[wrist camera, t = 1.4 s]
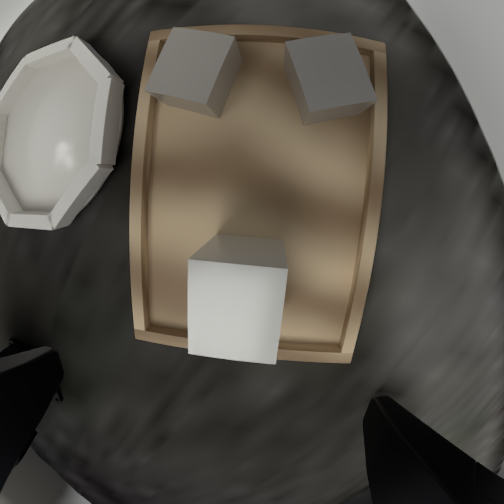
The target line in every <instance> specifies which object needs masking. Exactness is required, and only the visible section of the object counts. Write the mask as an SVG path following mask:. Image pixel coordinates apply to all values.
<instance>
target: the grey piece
mask: <svg viewBox="0 0 504 504" xmlns="http://www.w3.org/2000/svg"><path fill="white" fill-rule="evenodd" d="M284 69H285V72H286V75H287V78H288V81H289V84H290V86H291V89H292V92H293V95H294V98H295V101H296V105H297V108H298V111H299V114H300V117H301V120H302V123H303V126H306V125H310V124H315V123H320V122H325V121H330V120H335V119H340V118H345V117H351V116H356V115H360V114H361V113H362V112H363V111H365V110H366V109H367V108H369V107H370V106H371V105H372V104H374V103H375V102H376V101H378V100H377V97H376V95H375V92H374V89H373V86H372V83H371V81H370V78H369V75H368V73H367V70H366V68H365V65H364V62H363V60H362V58H361V55H360V53H359V50H358V48H357V46H356V43H355V41H354V39H353V37H352V35H351V32H350V33H340V34H331V35H323V36H316V37H309V38H303V39H297V40H292V41H286V42H285V50H284Z"/></svg>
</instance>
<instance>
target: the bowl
mask: <svg viewBox="0 0 504 504" xmlns="http://www.w3.org/2000/svg"><path fill="white" fill-rule="evenodd" d="M123 82H124V81H123V80H122V79H121V78H120V77H119V76H118V75H117V74H116V72H115V71H114V69H113V68H112V67H111V65H110V64H109V63H108V62H107V61H106V60H104V59H103V58H102V57H101V56H100V55H99V54H98V53H97V52H96V51H95V50H94V48H93V47H92V46H91V45H90V44H88V43H87V42H85V41H84V40H82V39H80V38H79V37H77V36H76V37H75V36H73V37H70V38H67V39H64V40H61V41H59V42H56V43H53V44H51V45H48V46H46V47H43V48H41V49H38V50H36V51H34V52H31V53H29V54H27V55H26V57H23V59H22V60H21V61H20V63H19V64H18V66H17V67H16V69H15V70H14V71H13V73H12V74H11V76H10V77H9V79H8V80H7V82H6V84H5V85H4V87H3V88H2V90H1V92H0V215H1V217H2V219H3V221H4V223H5V224H6V225H8V227H19V228H31V229H42V230H55V229H58V228H62V227H66V226H67V225H70V224H71V222H72V221H73V220H74V218H75V217H76V215H77V214H78V213H79V212H80V211H81V210H83V209H84V208H85V207H86V206H87V205H88V204H89V203H90V202H91V201H92V200H93V198H94V197H95V196H96V195H97V193H98V192H99V190H100V189H101V188H102V186H103V184H104V182H105V181H106V179H107V177H108V175H109V174H110V173H111V172H112V171H113V169H114V168H113V167H112V166H113V165H116V156H117V153H118V149H119V145H120V142H121V137H122V131H123V125H124V99H123V92H124V86H125V85H124V84H122V83H123Z"/></svg>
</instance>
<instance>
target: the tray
mask: <svg viewBox="0 0 504 504" xmlns="http://www.w3.org/2000/svg"><path fill="white" fill-rule="evenodd" d="M181 28H187V29H194V30H201V31H208V32H213V33H219V34H224V35H229V36H234V37H235V38H236V41H237V45H238V48H239V51H240V55H241V58H242V61H243V62H242V64H241V67H240V69H239V71H238V74H237V76H236V79H235V81H234V84H233V86H232V88H231V91H230V93H229V96H228V98H227V101H226V104H225V106H224V109H223V111H222V114H221V117H220V119H218V118H214V117H211V116H207V115H203V114H200V113H196V112H192V111H188V110H184V109H180V108H175V107H171V106H167V105H166V104H164V103H163V102H161V101H159V100H158V99H156V98H155V97H153V96H152V95H150V94H149V93H147V92H145V91H144V90H145V87H146V85H147V83H148V80H149V78H150V75H151V73H152V71H153V68H154V66H155V64H156V62H157V60H158V57H159V55H160V53H161V51H162V49H163V47H164V45H165V43H166V40H167V38H168V36H169V34H170V32H171V31H172V29H173V28H172V29H164V30H157V31H151V32H150V37H149V41H148V46H147V51H146V56H145V61H144V67H143V72H142V78H141V84H140V91H139V98H138V105H137V113H136V122H135V131H134V141H133V153H132V167H131V185H130V222H129V237H130V275H131V294H132V308H133V320H134V330H135V339H139V340H144V341H149V342H154V343H159V344H165V345H170V346H176V347H182V348H188V259H189V258H190V257H191V256H192V255H193V254H194V253H195V252H197V251H198V250H199V249H200V248H201V247H202V246H203V245H205V244H206V243H207V242H208V241H209V240H210V239H211V238H212V237H214V236H215V235H216V234H224V235H235V236H247V237H258V238H268V239H279V240H284V243H285V250H286V257H287V264H288V274H287V283H286V291H285V299H284V307H283V315H282V323H281V330H280V337H279V345H278V352H277V359H278V360H291V361H306V362H327V363H350V362H351V358H352V355H353V351H354V347H355V344H356V340H357V336H358V332H359V328H360V323H361V319H362V315H363V310H364V306H365V301H366V297H367V292H368V287H369V282H370V277H371V271H372V266H373V260H374V254H375V248H376V241H377V234H378V227H379V220H380V212H381V203H382V194H383V184H384V172H385V159H386V141H387V60H386V44H385V43H382V42H378V41H374V40H370V39H366V38H361V37H356V36H352V37H353V39H354V41H355V43H356V46H357V48H358V50H359V53H360V55H361V58H362V60H363V62H364V65H365V68H366V70H367V73H368V75H369V78H370V81H371V83H372V86H373V89H374V92H375V95H376V97H377V100H378V101H376V102H375V103H374V104H372V105H371V106H370V107H369V108H367V109H366V110H365V111H363V112H362V113H361V114H360V115H356V116H351V117H345V118H340V119H335V120H330V121H325V122H320V123H315V124H310V125H306V126H303V123H302V120H301V117H300V114H299V111H298V108H297V105H296V101H295V98H294V95H293V92H292V89H291V86H290V84H289V81H288V78H287V75H286V72H285V69H284V50H285V42H286V41H292V40H297V39H303V38H309V37H316V36H323V35H331V34H340V33H335V32H329V31H322V30H315V29H307V28H298V27H287V26H273V25H206V26H192V27H181Z"/></svg>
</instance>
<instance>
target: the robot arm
mask: <svg viewBox="0 0 504 504" xmlns="http://www.w3.org/2000/svg"><path fill="white" fill-rule="evenodd" d="M8 344H9V346H8V347H7V348H5V349H4V350H3V351H1V352H0V493H1V491H2V489H3V487H4V485H5V483H6V481H7V479H8V477H9V475H10V473H11V471H12V469H13V468H14V467H15V466H16V465H17V464H18V463H19V462H20V461H21V460H22V458H23V457H24V455H25V453H26V452H27V450H28V448H29V446H30V445H31V443H32V441H33V440H34V438H35V436H36V435H37V431H36V430H35V429H36V427H37V426H38V424H39V423H40V421H41V419H42V418H43V416H44V414H45V412H46V410H47V409H48V407H49V404H50V402H51V400H53V401H55V402H57V403H61V402H62V397H61V394H60V392H59V389H58V387H59V385H60V383H61V381H62V379H63V375H64V371H63V367H62V364H61V360H60V357H59V353H58V351H57V350H56V349H54V348H51V347H48V346H44V347H40V348H36V349H34V348H32V347H29V346H27V345H25V344H22V343H20V342H18V341H16V340H14V339H10V340H8ZM363 433H364V444H365V457H366V469H367V476H368V481H369V486H370V492H371V497H372V503H373V504H504V479H503V478H501V477H500V476H498V475H496V474H495V473H493V472H492V471H490V470H489V469H487V468H486V467H484V466H483V465H482V464H480V463H479V462H476V461H475V460H474V459H473V458H471V457H470V456H469V455H467V454H466V453H464V452H463V451H462V450H460V449H459V448H458V447H456V446H455V445H453V444H452V443H451V442H449V441H448V440H447V439H445V438H444V437H442V436H441V435H440V434H438V433H437V432H436V431H434V430H433V429H432V428H430V427H429V426H428V425H426V424H425V423H424V422H422V421H421V420H420V419H418V418H417V417H416V416H414V415H413V414H412V413H410V412H409V411H408V410H406V409H405V408H404V407H402V406H401V405H400V404H398V403H397V402H396V401H394V400H393V399H392V398H391V397H389V396H387V395H380V396H374V397H372V399H371V400H370V403H369V405H368V408H367V410H366V413H365V415H364V418H363Z"/></svg>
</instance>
